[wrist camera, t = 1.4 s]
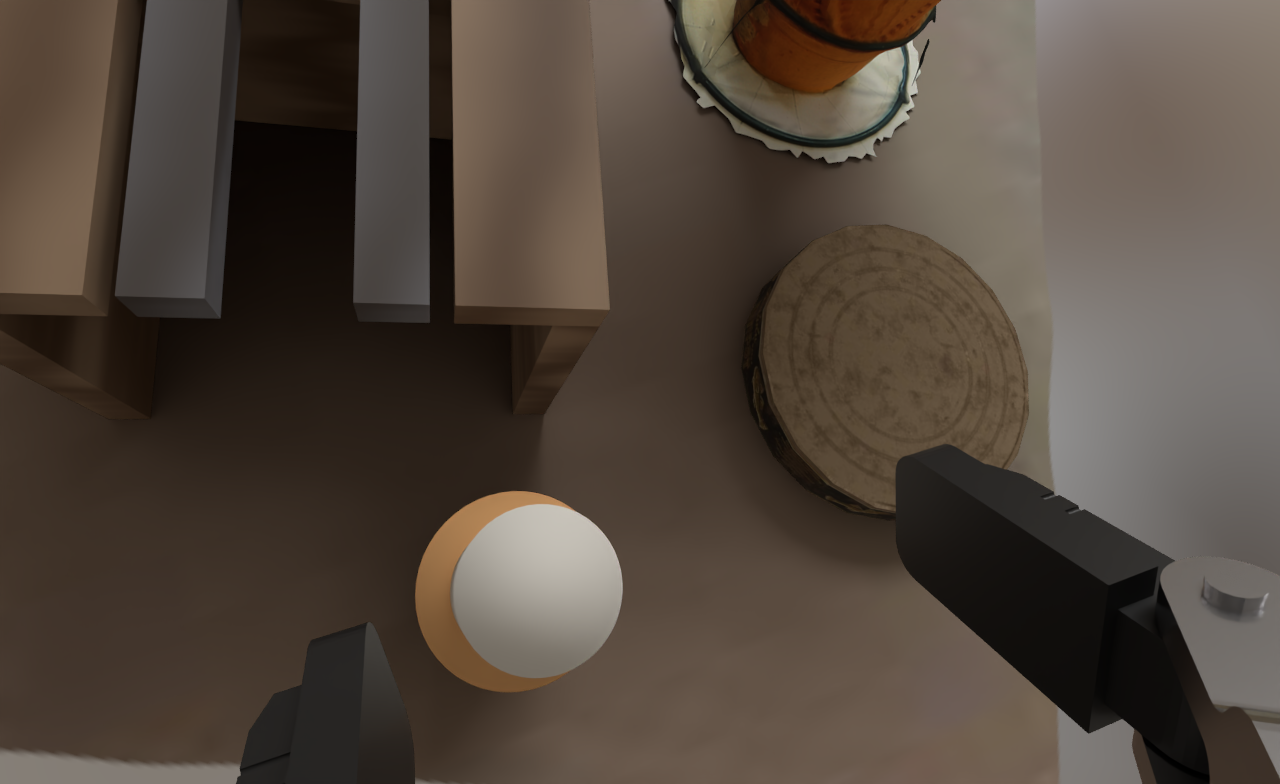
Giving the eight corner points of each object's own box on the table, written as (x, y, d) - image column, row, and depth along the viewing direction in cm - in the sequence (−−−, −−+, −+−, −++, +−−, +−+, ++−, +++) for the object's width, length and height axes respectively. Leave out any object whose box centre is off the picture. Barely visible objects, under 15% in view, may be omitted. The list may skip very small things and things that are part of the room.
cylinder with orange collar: (442, 681, 31) (450, 770, 16) (405, 544, 32) (378, 506, 17) (575, 629, 33) (694, 665, 18) (536, 502, 34) (617, 434, 19)
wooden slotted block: (108, 419, 30) (-147, 288, 17) (144, 83, 34) (-40, -236, 21) (544, 413, 35) (610, 309, 22) (531, 121, 39) (581, -116, 25)
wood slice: (747, 520, 36) (773, 514, 34) (731, 234, 40) (753, 207, 38) (1008, 521, 41) (1051, 516, 38) (970, 261, 45) (1006, 239, 42)
